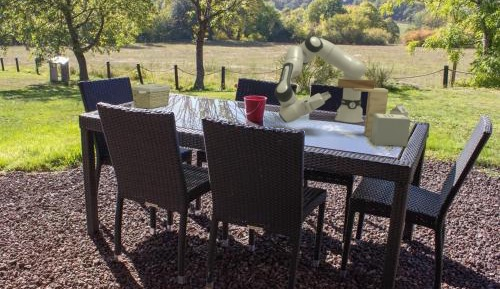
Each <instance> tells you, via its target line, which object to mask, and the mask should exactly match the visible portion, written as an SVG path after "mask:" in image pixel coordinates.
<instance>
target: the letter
mask: <svg viewBox="0 0 500 289" xmlns="http://www.w3.org/2000/svg"><path fill="white" fill-rule="evenodd" d="M376 115H377V116H378V117H380V118H392V119H408V118H409V117H408V118H406V117H405V116H404V115H396V114H390V113H386V114H376Z"/></svg>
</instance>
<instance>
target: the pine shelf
mask: <svg viewBox="0 0 500 289" xmlns="http://www.w3.org/2000/svg"><path fill="white" fill-rule="evenodd" d="M352 89H353V90H354V91H361V92H366V93H367V92H368V93H367V100H366V101H367V102H366V113H365V119H364V131H363V134H364V135H365V136H366V137H370V138H371V134H372V124H373V115H374V114H387V105H388V98H389V96H388V95H389V89H388V88H387V89H386V88H382V87H374V89H359V88H352Z"/></svg>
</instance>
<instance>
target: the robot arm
mask: <svg viewBox="0 0 500 289" xmlns="http://www.w3.org/2000/svg"><path fill="white" fill-rule="evenodd" d="M316 56H318V57H320V59H322V60H323V61H325V62H326V63H329V64H330V65H331V66H333V67H334V68H336V69H338V70H340V71H341V72H342V73H343V79H360V80H362V79H361V78H362V77H363V76H364V75H365V74H366V72H367V68H366V64H365V63H364V62H362V60H360V59H358V58H357V57H355V56H353V55H352V54H350V53H349V52H347V51H346V50H344V49H341V47H338V46H337V45H335V44H334V43H333V42H331V41H329V40H327V39H324V38H322V37H319V36H316V35H310V36H307V37H306V38H305V40H303V42H302V43H301V44H300V46H297V45H291V46H290V47H289V48H288V49H287V51H286V54H285V56H284V64H283V66H282V69H281V72H280V76H279V81H278V84H277V85H276V87H275V90H274V91H273V92H274V96H275V98H276V99H277V101H278V102H279V103H280V109H279V112H278V115H279V117H280V118H281V120H282V121H283V123H286V124H288V123H291V122H294V121H296V120H298V119H300V118H301V117H304V116H306V115H309V114H311V113H313V112H314V111H315V110H317V109H318V108H320V107H321V106H324V104H326V101H327V100H328V99H330V98H332V95H331V94H330V92H329V91H326V92H323V93H319V92H318V93H316V94H314V95H312V96H310V97H308V98H307V96H305V97H303V98H302V99H299V100H298V97H297V95H296V94H295V92H294V90H293V88H292V85H291V82H292V78H294V77H298V76H299V75H300V74H301V73H302V70H303V66H304V65H305V66H306V65H307V64H309V63H310V62H311V61H312V60H313V59H314V58H316ZM361 96H362V91H354V90H353V89H352V88H343V90H342V99H341V103H340V105H339V107H338V109H336V113H337V115H336V116H335V118H334V121H337V122H338V121H339V122H342V123H343V122H344V123H351V124H354V123H365V119H363V108H362V107H361V106H362V105H361V104H362V99H361Z"/></svg>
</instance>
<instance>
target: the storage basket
mask: <svg viewBox="0 0 500 289" xmlns="http://www.w3.org/2000/svg"><path fill="white" fill-rule="evenodd" d="M131 88H132V96H133V97H132V98H133V106H134V108H139V109H146V108H147V109H148V110H150V109H156V108H161V107H167V106H169V99H170V91H171V85H170V84H164V83H162V84H161V83H145V84H138V85H133V86H132V87H131Z"/></svg>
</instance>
